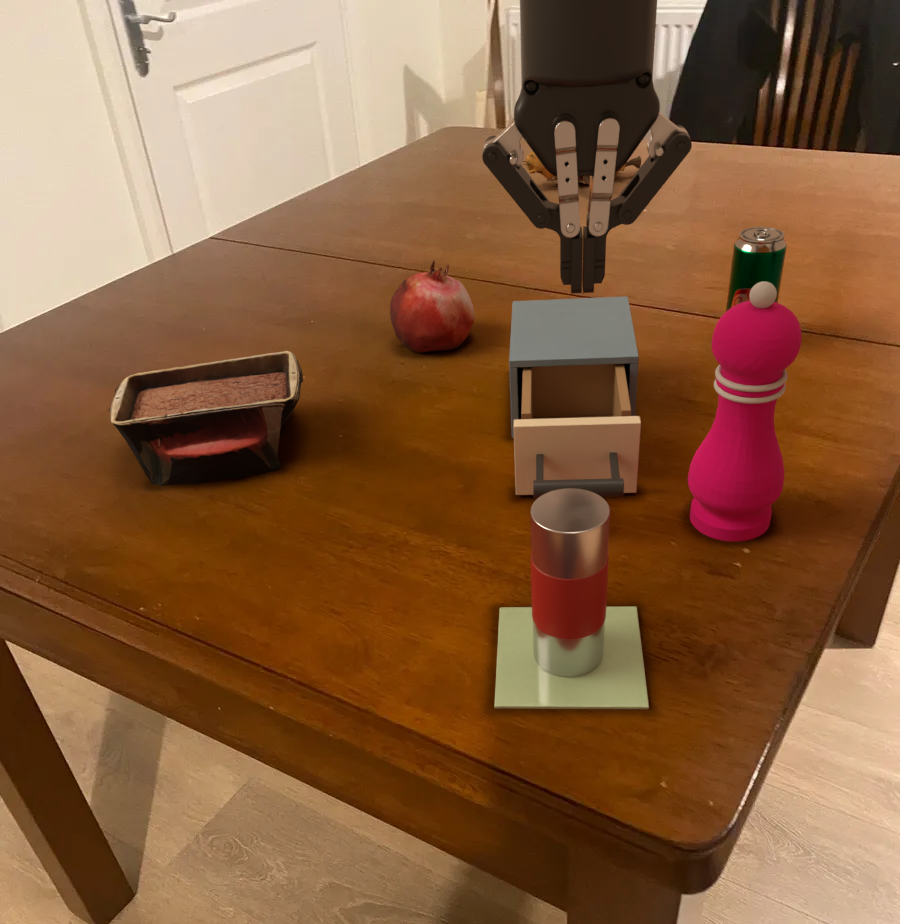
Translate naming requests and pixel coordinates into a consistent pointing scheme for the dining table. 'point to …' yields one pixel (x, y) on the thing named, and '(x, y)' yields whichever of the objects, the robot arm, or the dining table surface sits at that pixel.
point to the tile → (599, 689)
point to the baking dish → (208, 417)
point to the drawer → (576, 431)
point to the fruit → (431, 311)
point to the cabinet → (571, 339)
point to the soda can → (756, 262)
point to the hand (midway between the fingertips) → (582, 288)
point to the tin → (569, 580)
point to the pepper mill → (744, 419)
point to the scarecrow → (537, 166)
